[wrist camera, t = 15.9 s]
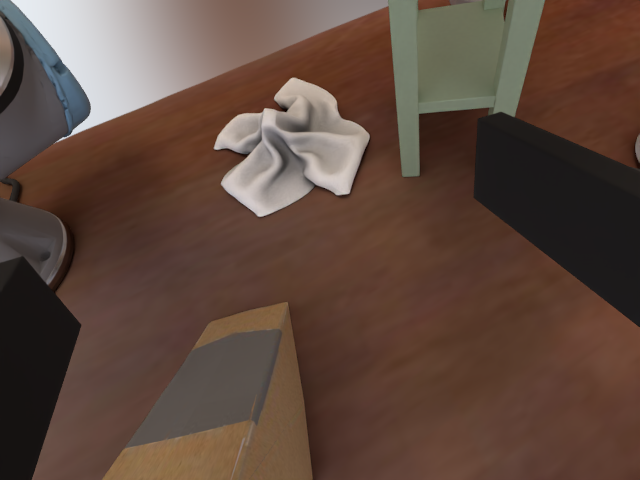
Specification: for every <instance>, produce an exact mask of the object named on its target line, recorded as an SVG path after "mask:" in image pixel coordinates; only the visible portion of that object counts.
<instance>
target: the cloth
mask: <svg viewBox="0 0 640 480" xmlns="http://www.w3.org/2000/svg"><path fill="white" fill-rule="evenodd" d="M274 100H275V101H276V102H277V103H278V104H279V106H280V107H282V108H284V109H287V110H288V111H287V112H278V111H276V110H274V109H267V108H264V111H263V112H262V113H245V114H241V115H238V116H236V117H235V118H234V119H232V120H231V121H230V122H229V123H228V124H227V125H226V127H225V128H224V129H223V130H222V132H221V133H220V134H219V135H218V137H217V140H216V143H215V146H214V149H216V150H219V149H224V148H229V149H231V150H233V151H235V152H238V153H242V154H249V153H250V154H249V156H248V157H247V158H246V159H245V160H244V161H243V162H241V163H239V164H238V165H236V166H235V167H234V168H233V169H231V170H230V171H229V172H228V173H227V174H226V175H225V176H224V178H223V180H222V182H221V185H222V186H223V187H224V189H225V190H226V191H227V192H228V193H229V194H231V195H232V196H234V197H235V198H236V199H237V200H238V201H239V202H241V203H242V204H243V205H245V206H246V207H248V208H249V209H250V210H252V211H253V212H254V213H256V215H257V216H258V217H263V216H266V215H268V214H271V213H273V212H275V211H277V210H280V209H282V208H284V207H286V206H288V205H290V204H292V203H294V202H295V201H297V200H299V199H300V198H302V197H303V196H305V195H306V194H308V193H309V192H310V191H311V190H312V189H313V188H314V187H315V185H318V186H320V187H323V188H326V189H328V190H330V191H332V192H334V193H335V194H336V195H344V194H349V193H350V190H351V187H352V183H353V180H354V177H355V175H356V172H357V169H358V167H359V164H360V161H361V158H362V155H363V153H364V150H365V148H366V146H367V144H368V141H369V138H370V136H369V134H368V133H367V132H366V130H365V129H364V128H363V127H361V126H360V125H358V124H356V123H354V122H352V121H348V120H344V119H342V118H341V117H340V115H339V112H338V109H337V101H336V100H335V98H334V97H333V96H332V95H331V94H330V93H329V92H327V91H326V90H324V89H322V88H320V87H318V86H316V85H313V84H310V83H307V82H305V81H302V80H299V79H296V78H291V79H290V80H289V81H288V82H287V83H286V84H285V85H284V86H283V87H282V88H281V89H280V91H279V92H278V93H277V94H276V96H275V98H274Z"/></svg>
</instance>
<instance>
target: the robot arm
mask: <svg viewBox="0 0 640 480" xmlns="http://www.w3.org/2000/svg"><path fill="white" fill-rule="evenodd" d="M90 110H91V106H90V102H89V99H88V97H87V95H86V94H85V92H84V90H83V89H82V87H81V86H80V84H79V83H78V81H77V80H76V79H75V77H74V76H73V74H72V73H71V72H70V70H69V69H68V68H67V67H66V66H65V65H64V64H63V63H62V61H61V59H60V58H59V56H58V55H57V53H56V52H55V50H54V49H53V48H52V47H51V45H50V44H49V43H48V42H47V41H46V39H45V38H44V37H43V36H42V34H41V33H40V32H39V31H38V29H37V28H36V27H35V26H34V25H33V24H32V22H31V21H30V20H29V19H28V18H27V17H26V16H25V15H24V14H23V12H22V11H21V10H20V9H19V8H18V7H17V6H16V5H15V4H14V3H13V2H12V1H11V0H0V182H2V183H4V184H12V186H13V188H12V193H11V196H10V200H7V199H3V198H0V480H32V477H33V474H34V471H35V468H36V464H37V461H38V458H39V455H40V452H41V449H42V446H43V443H44V440H45V437H46V433H47V430H48V427H49V424H50V421H51V418H52V415H53V412H54V409H55V406H56V402H57V399H58V396H59V393H60V390H61V387H62V384H63V381H64V378H65V375H66V371H67V368H68V365H69V362H70V359H71V356H72V353H73V350H74V347H75V343H76V340H77V337H78V334H79V331H80V328H81V324H80V323H79V322H78V320H77V319H76V318H75V317H74V316H73V314H72V313H71V312H70V311H69V310H68V309H67V307H66V306H65V305H64V304H63V303H62V301H61V300H60V299H59V298H58V297H57V295H56V294H55V293H54V291H55V290H56V288H57V287H58V285H59V284H60V283H61V281H62V279H63V278H64V276H65V274H66V272H67V270H68V268H69V265H70V263H71V260H72V256H73V251H74V237H73V233H72V231H71V229H70V227H69V226H68V224H66V223H65V222H64V221H63V220H61V219H60V218H58V217H57V216H55V215H54V214H52V213H50V212H48V211H45V210H42V209H39V208H35V207H32V206H28V205H24V204H21V203H17V199H18V196H19V192H20V185H19V182H18V181H16V180H15V179H8V178H6V177H7V176H8V175H10V174H11V173H13V172H14V171H15V170H17V169H18V168H20V167H21V166H22V165H24V164H25V163H27V162H28V161H29V160H31V159H32V158H34V157H35V156H37V155H38V154H39V153H41V152H42V151H44V150H45V149H46V148H48V147H49V146H51V145H52V144H53V143H55V142H56V141H58V140H59V139H61V138H62V137H67V136H69V135H70V134H71V133H72V130H73V129H74V128H75V127H77V126H78V125H79V124H80V123H82V122H83V121H84V120H85V119H86V118H87V117H88V116H89V114H90ZM474 198H475V199H476V200H477V201H479V202H480V203H481V204H482V205H484V206H485V207H486V208H488V209H489V210H490V211H491V212H493V213H494V214H495V215H497V216H498V217H499V218H500V219H502V220H503V221H504V222H506V223H507V224H508V225H509V226H511V227H512V228H513V229H515V230H516V231H517V232H518V233H520V234H521V235H522V236H523V237H525V238H526V239H527V240H529V241H530V242H531V243H532V244H534V245H535V246H536V247H538V248H539V249H540V250H541V251H543V252H544V253H545V254H547V255H548V256H549V257H550V258H552V259H553V260H554V261H556V262H557V263H558V264H559V265H561V266H562V267H563V268H564V269H566V270H567V271H568V272H570V273H571V274H572V275H573V276H575V277H576V278H577V279H579V280H580V281H581V282H582V283H584V284H585V285H586V286H588V287H589V288H590V289H591V290H593V291H594V292H595V293H596V294H598V295H599V296H600V297H602V298H603V299H604V300H605V301H607V302H608V303H609V304H611V305H612V306H613V307H614V308H616V309H617V310H618V311H620V312H621V313H622V314H623V315H625V316H626V317H627V318H629V319H630V320H631V321H632V322H634V323H635V324H636V325H637V326H639V327H640V169H637V168H633V167H629V166H626V165H624V164H622V163H619V162H617V161H615V160H612V159H610V158H608V157H605V156H603V155H601V154H598V153H596V152H594V151H591V150H589V149H587V148H585V147H582V146H580V145H578V144H575V143H573V142H571V141H568V140H566V139H564V138H561V137H559V136H557V135H554V134H552V133H550V132H547V131H545V130H543V129H540V128H538V127H536V126H534V125H531V124H529V123H527V122H524V121H522V120H520V119H517V118H515V117H513V116H510V115H508V114H506V113H503V112H498V113H495V114H491V115H488V116H485V117H481V118H478V126H477V145H476V163H475V182H474Z"/></svg>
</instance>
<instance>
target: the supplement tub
mask: <svg viewBox="0 0 640 480" xmlns="http://www.w3.org/2000/svg"><path fill="white" fill-rule="evenodd" d="M635 151H636V156H637V159H638V161H639V163H640V134H639V136H638V138H637V141H636V145H635Z"/></svg>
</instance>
